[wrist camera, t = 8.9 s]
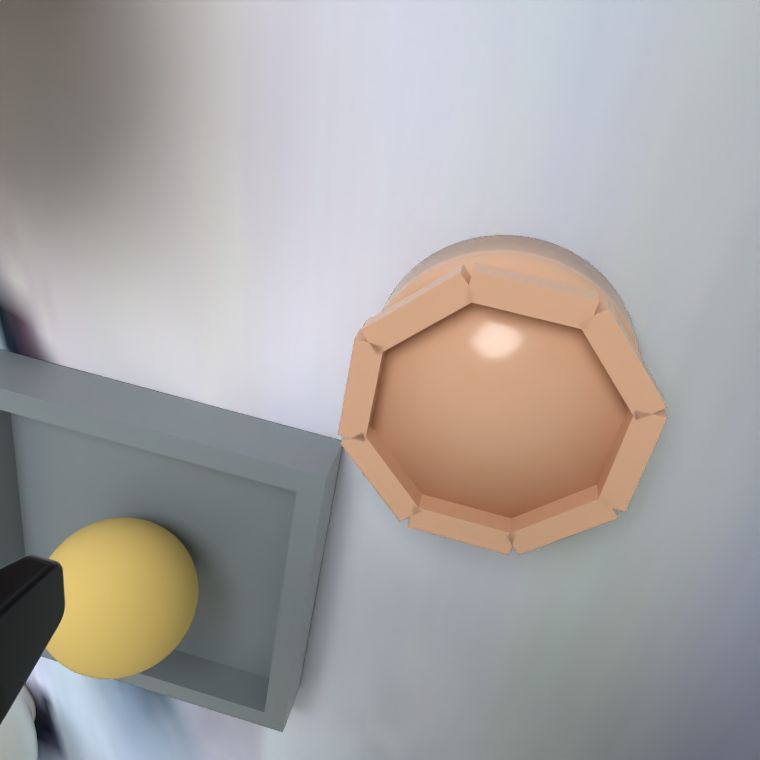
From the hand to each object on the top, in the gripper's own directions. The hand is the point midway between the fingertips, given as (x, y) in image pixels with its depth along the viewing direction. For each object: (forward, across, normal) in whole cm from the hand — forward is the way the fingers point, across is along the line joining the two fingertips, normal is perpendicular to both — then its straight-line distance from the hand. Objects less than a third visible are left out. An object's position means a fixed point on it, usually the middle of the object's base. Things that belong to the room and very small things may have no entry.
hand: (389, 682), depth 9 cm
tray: (+12, +9, +11) cm, 19 cm away
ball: (+11, +9, +11) cm, 18 cm away
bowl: (+12, -1, +1) cm, 12 cm away
